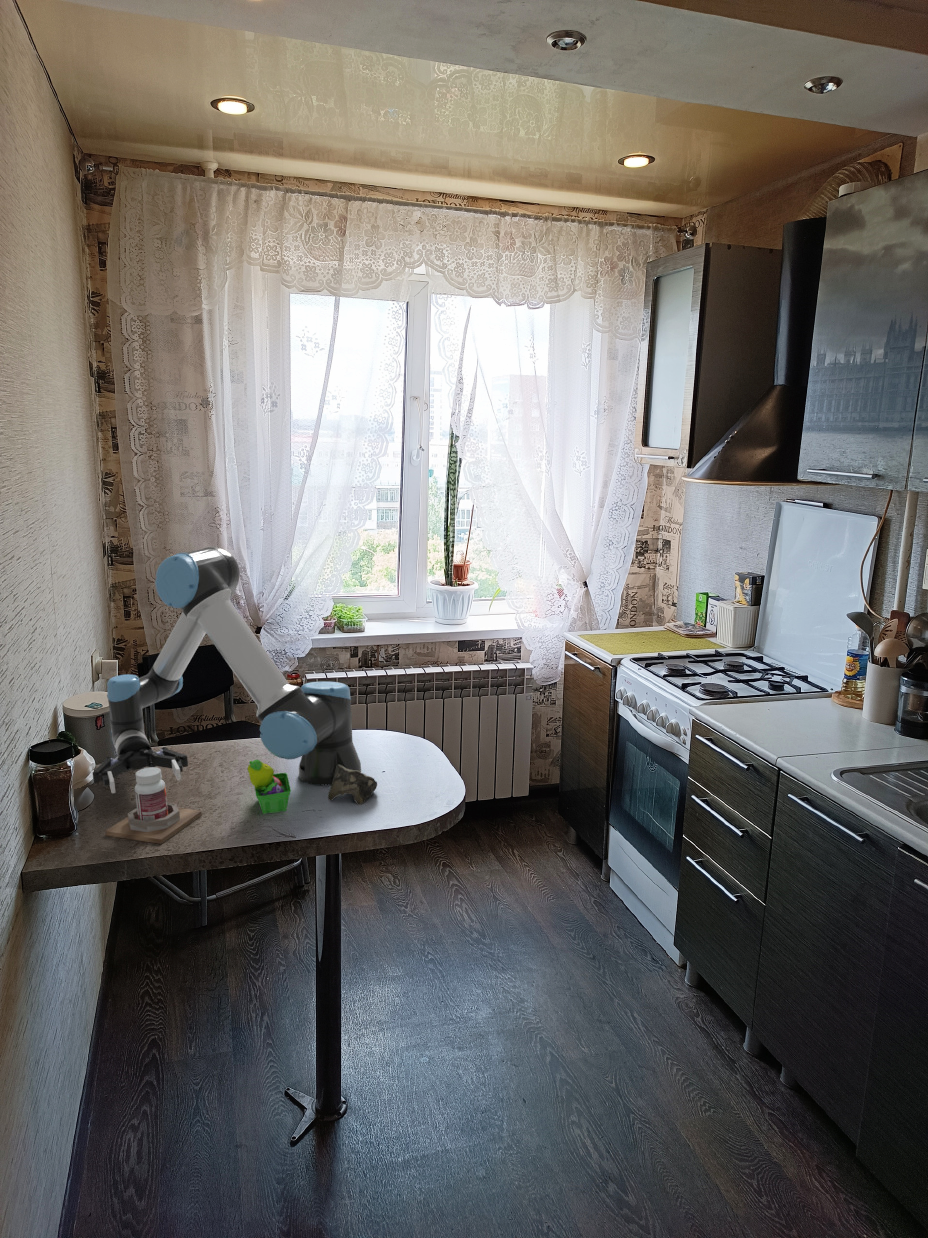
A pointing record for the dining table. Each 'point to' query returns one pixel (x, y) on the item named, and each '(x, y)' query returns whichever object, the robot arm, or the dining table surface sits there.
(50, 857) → the dining table surface
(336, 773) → the fossil
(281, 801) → the fruit basket
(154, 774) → the pill bottle
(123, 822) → the carrier plate
